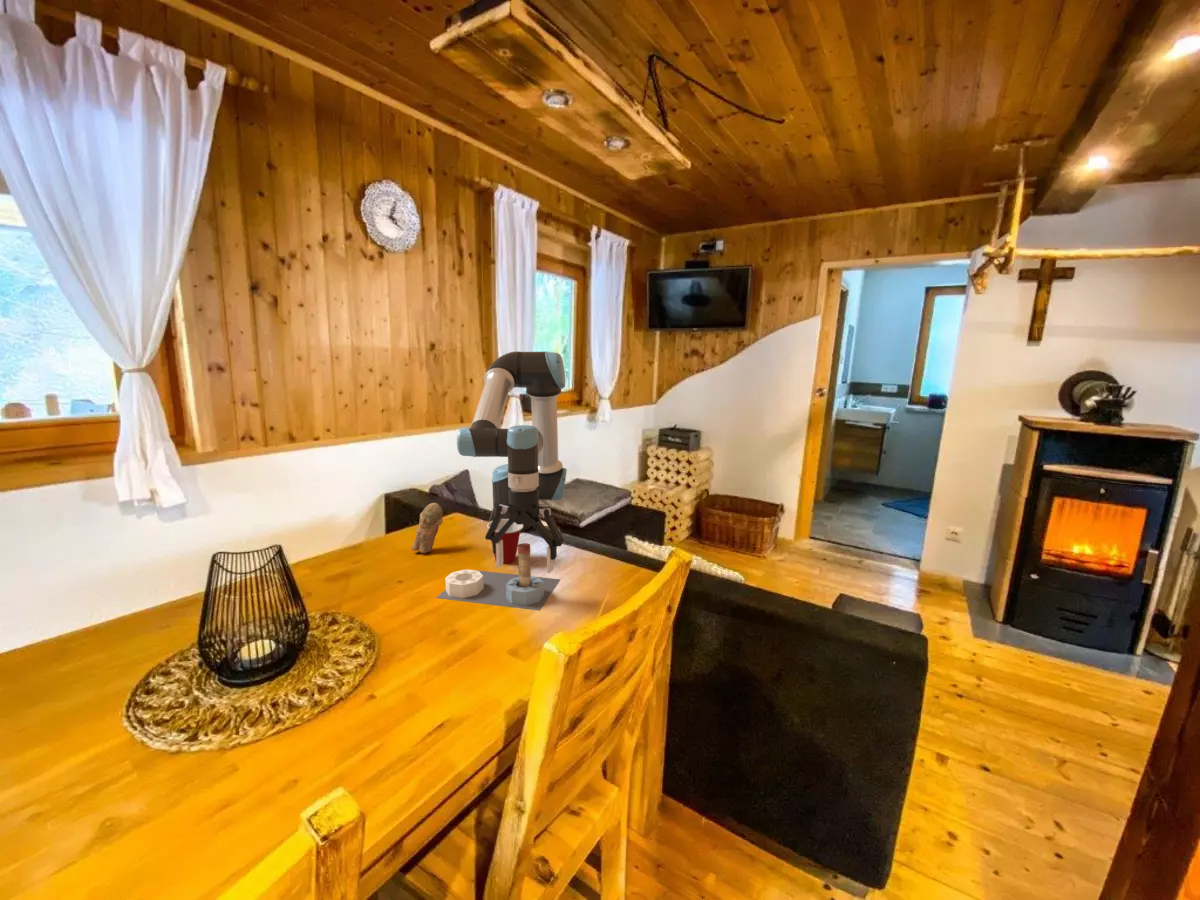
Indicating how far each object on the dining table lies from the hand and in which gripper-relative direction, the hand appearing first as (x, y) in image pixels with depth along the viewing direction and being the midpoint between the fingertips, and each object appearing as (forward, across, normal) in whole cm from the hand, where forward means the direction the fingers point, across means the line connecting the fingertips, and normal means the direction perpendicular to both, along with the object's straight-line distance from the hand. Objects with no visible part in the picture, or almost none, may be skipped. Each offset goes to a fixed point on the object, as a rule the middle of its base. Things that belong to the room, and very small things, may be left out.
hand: (524, 568), depth 127 cm
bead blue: (+8, 0, 0) cm, 8 cm away
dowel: (+8, 0, 0) cm, 8 cm away
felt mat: (+8, -8, +3) cm, 12 cm away
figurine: (+8, -41, +23) cm, 48 cm away
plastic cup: (+8, -14, +21) cm, 27 cm away
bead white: (+8, -17, 0) cm, 19 cm away
